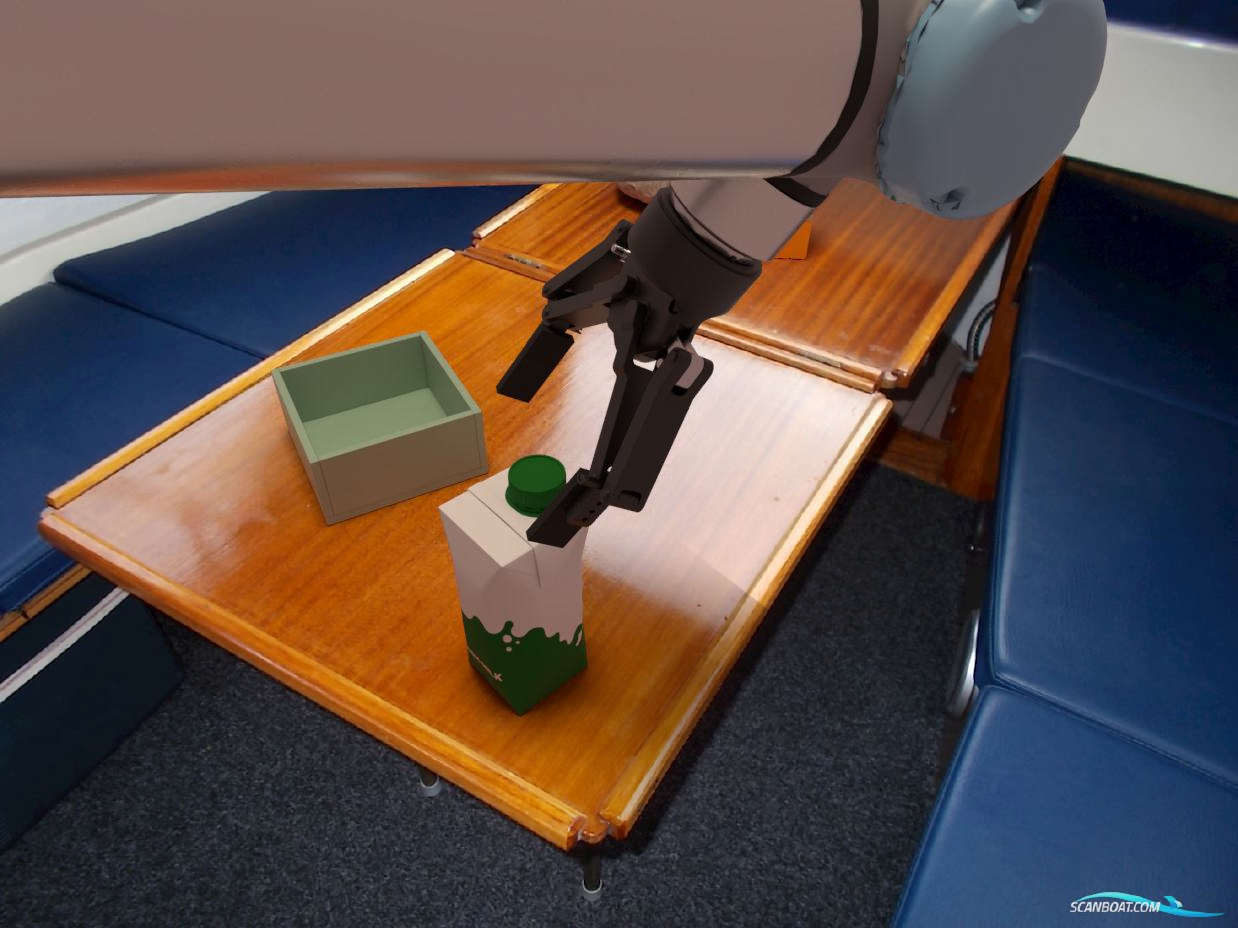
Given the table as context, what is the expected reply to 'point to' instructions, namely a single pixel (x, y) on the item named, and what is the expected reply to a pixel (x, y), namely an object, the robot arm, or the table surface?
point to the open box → (380, 424)
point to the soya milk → (517, 583)
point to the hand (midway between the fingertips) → (526, 462)
